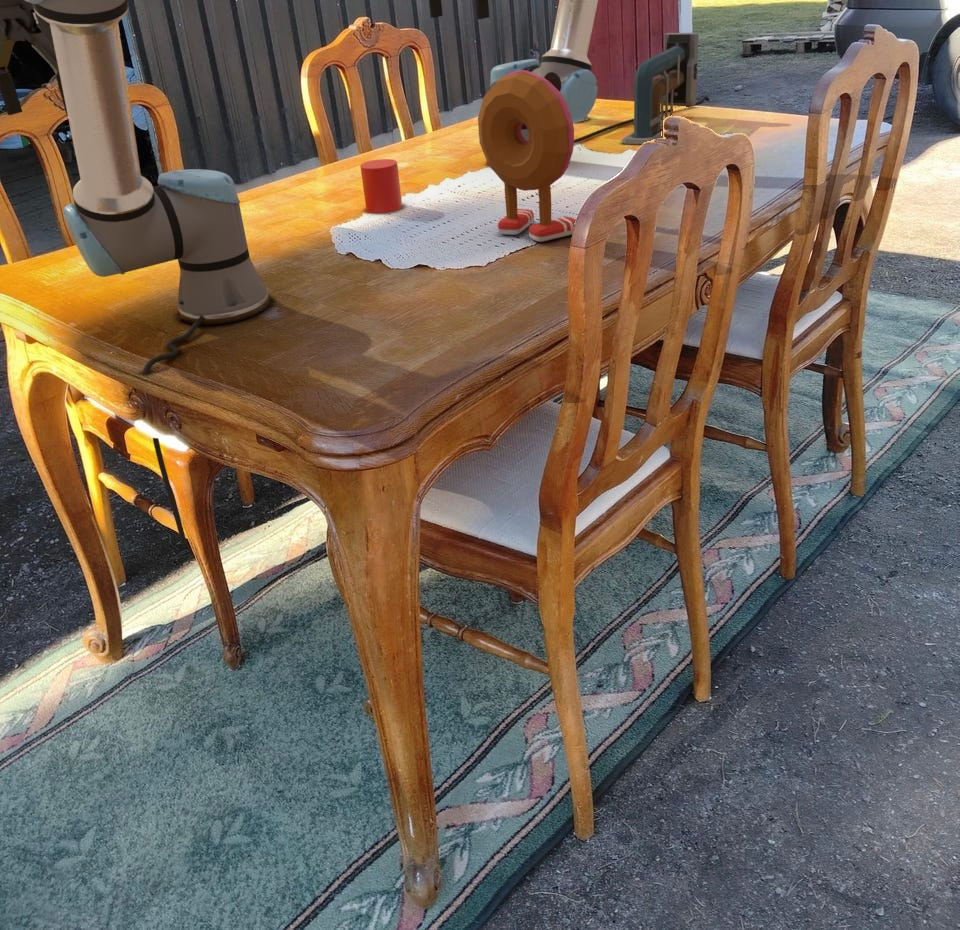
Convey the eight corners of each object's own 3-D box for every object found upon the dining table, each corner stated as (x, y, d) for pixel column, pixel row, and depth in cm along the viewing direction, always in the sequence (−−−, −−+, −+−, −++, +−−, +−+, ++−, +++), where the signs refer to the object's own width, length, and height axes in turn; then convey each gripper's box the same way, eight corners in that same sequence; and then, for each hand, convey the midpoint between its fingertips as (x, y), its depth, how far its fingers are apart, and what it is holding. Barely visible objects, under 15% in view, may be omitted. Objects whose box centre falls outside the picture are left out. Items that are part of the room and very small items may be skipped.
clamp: (652, 144, 244) (653, 54, 234) (619, 143, 248) (619, 54, 237) (695, 115, 270) (698, 32, 259) (665, 114, 274) (667, 33, 263)
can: (406, 202, 216) (401, 158, 211) (396, 213, 209) (391, 168, 204) (372, 203, 217) (366, 159, 212) (361, 213, 211) (355, 168, 206)
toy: (594, 233, 186) (591, 67, 171) (560, 248, 180) (555, 77, 165) (511, 217, 199) (502, 62, 184) (477, 231, 193) (465, 71, 178)
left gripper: (79, -27, 157) (114, 109, 168) (-33, -20, 166) (7, 109, 177) (45, -23, 152) (84, 118, 162) (-69, -15, 161) (-25, 117, 171)
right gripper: (391, -100, 190) (405, 18, 201) (481, -107, 174) (490, 21, 185) (419, -103, 194) (431, 13, 205) (510, -110, 178) (517, 16, 189)
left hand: (44, 113), depth 170 cm, fingers open, 13 cm apart
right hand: (459, 17), depth 195 cm, fingers open, 13 cm apart
